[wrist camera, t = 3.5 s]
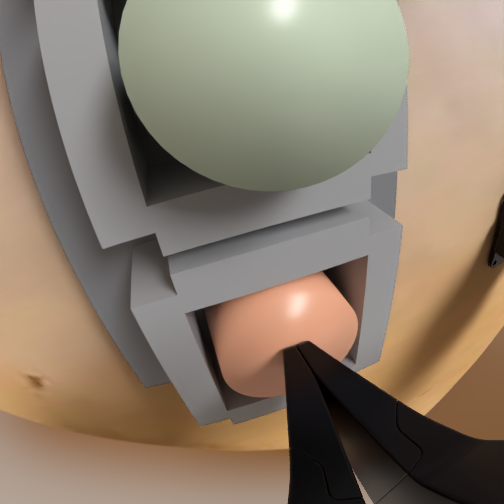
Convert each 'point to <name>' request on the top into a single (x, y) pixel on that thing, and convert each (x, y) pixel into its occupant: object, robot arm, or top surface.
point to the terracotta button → (278, 331)
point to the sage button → (265, 84)
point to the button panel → (182, 212)
